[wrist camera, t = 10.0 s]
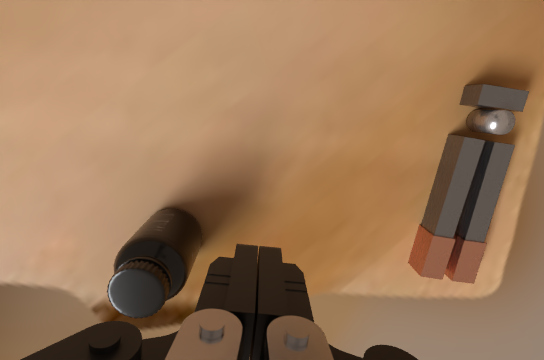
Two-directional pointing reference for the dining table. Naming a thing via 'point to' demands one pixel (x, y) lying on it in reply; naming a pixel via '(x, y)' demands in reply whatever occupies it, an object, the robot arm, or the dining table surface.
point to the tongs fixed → (483, 174)
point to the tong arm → (445, 206)
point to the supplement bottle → (154, 263)
